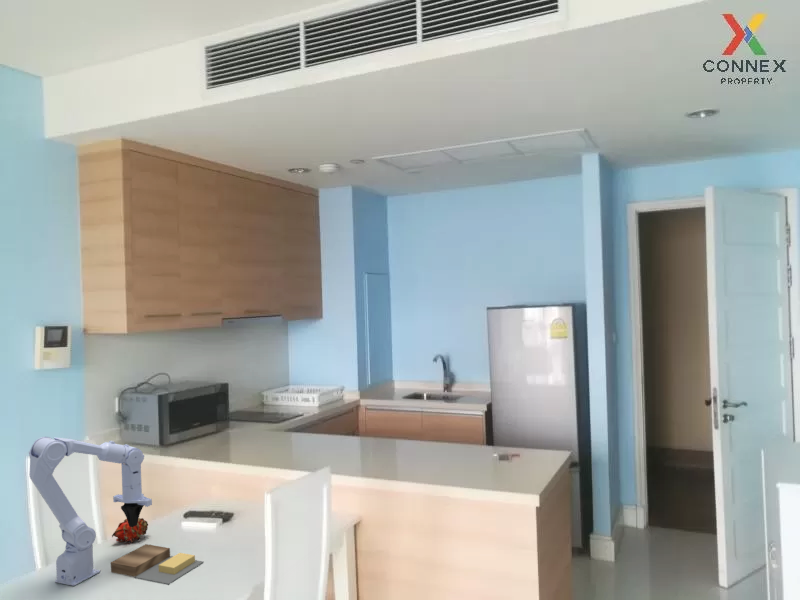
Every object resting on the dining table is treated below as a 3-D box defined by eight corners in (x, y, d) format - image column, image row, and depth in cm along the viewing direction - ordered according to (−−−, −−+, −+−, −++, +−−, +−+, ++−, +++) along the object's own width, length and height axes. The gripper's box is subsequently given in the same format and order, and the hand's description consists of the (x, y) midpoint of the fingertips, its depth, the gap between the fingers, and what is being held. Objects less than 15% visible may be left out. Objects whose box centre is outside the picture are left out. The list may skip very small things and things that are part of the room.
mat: (168, 584, 174) (168, 583, 174) (134, 577, 179) (134, 576, 179) (203, 562, 188) (203, 561, 188) (171, 556, 192) (171, 555, 192)
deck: (135, 577, 179) (135, 567, 179) (111, 572, 183) (110, 562, 183) (170, 557, 192) (169, 548, 192) (146, 553, 196) (145, 544, 196)
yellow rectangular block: (158, 565, 182) (158, 571, 182) (174, 567, 179) (174, 574, 179) (179, 552, 190) (179, 559, 190) (194, 555, 188) (195, 561, 188)
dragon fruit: (152, 540, 210) (116, 555, 203) (144, 521, 215) (108, 535, 208) (152, 526, 205) (115, 540, 198) (144, 507, 210) (107, 520, 203)
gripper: (158, 482, 194) (159, 523, 195) (124, 478, 200) (126, 518, 200) (141, 489, 188) (143, 532, 188) (107, 484, 193) (108, 526, 194)
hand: (133, 525), depth 194 cm, fingers closed
